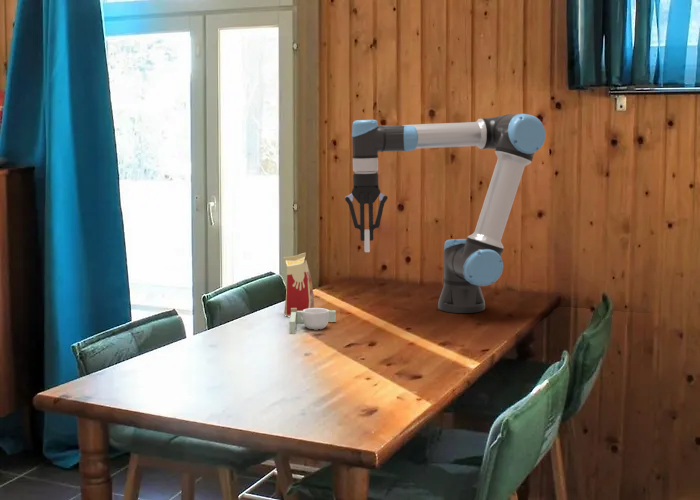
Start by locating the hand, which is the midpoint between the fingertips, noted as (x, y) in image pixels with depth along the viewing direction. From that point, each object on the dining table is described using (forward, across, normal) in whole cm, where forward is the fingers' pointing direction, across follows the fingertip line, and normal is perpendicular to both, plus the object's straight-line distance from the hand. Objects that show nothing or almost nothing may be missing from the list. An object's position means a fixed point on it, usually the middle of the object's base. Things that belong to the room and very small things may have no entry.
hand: (367, 251), depth 268 cm
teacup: (+22, +17, +4) cm, 28 cm away
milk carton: (+22, +22, -15) cm, 34 cm away
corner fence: (+22, +17, +4) cm, 28 cm away
